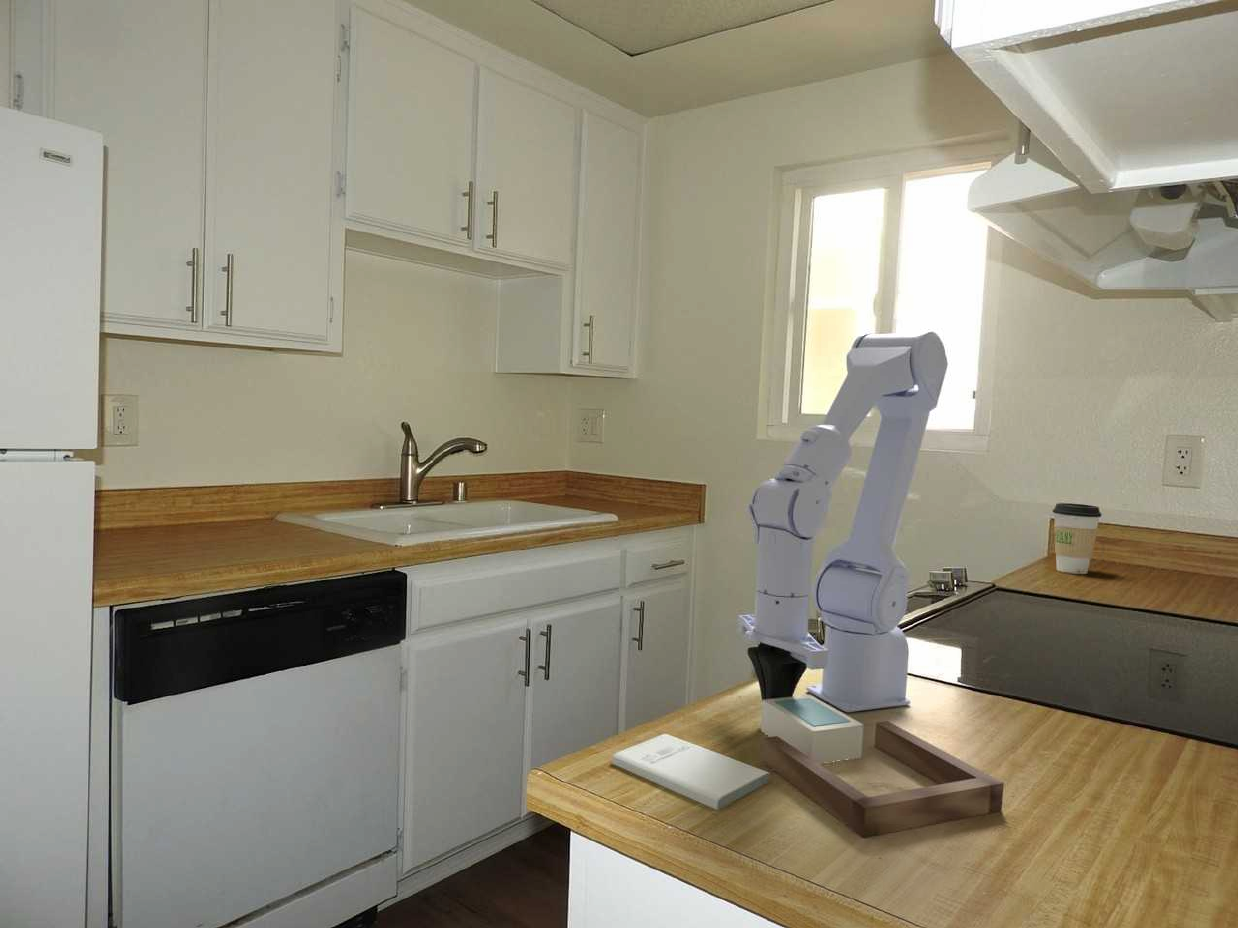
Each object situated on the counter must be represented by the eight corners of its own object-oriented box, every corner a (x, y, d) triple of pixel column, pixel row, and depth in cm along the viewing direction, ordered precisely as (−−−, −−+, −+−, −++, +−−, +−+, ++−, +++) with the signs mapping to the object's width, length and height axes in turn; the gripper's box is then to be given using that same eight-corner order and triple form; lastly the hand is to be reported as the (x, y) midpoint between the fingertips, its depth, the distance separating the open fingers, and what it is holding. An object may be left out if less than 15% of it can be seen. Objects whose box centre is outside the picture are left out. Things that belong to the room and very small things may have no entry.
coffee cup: (1049, 565, 202) (1054, 501, 201) (1097, 570, 198) (1102, 505, 196) (1046, 571, 194) (1051, 505, 193) (1096, 577, 189) (1102, 509, 188)
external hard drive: (716, 817, 74) (611, 769, 82) (769, 787, 80) (666, 746, 88) (717, 798, 73) (611, 752, 82) (770, 770, 79) (667, 730, 88)
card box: (808, 725, 94) (810, 693, 94) (861, 758, 86) (863, 723, 85) (760, 731, 92) (762, 698, 91) (810, 766, 83) (813, 730, 83)
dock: (886, 744, 89) (887, 721, 89) (1001, 810, 76) (1003, 782, 75) (762, 762, 83) (763, 737, 83) (863, 837, 70) (865, 807, 70)
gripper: (717, 578, 98) (711, 695, 99) (789, 609, 85) (781, 744, 86) (770, 576, 101) (763, 689, 102) (848, 605, 87) (840, 736, 88)
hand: (775, 714), depth 94 cm, fingers closed
